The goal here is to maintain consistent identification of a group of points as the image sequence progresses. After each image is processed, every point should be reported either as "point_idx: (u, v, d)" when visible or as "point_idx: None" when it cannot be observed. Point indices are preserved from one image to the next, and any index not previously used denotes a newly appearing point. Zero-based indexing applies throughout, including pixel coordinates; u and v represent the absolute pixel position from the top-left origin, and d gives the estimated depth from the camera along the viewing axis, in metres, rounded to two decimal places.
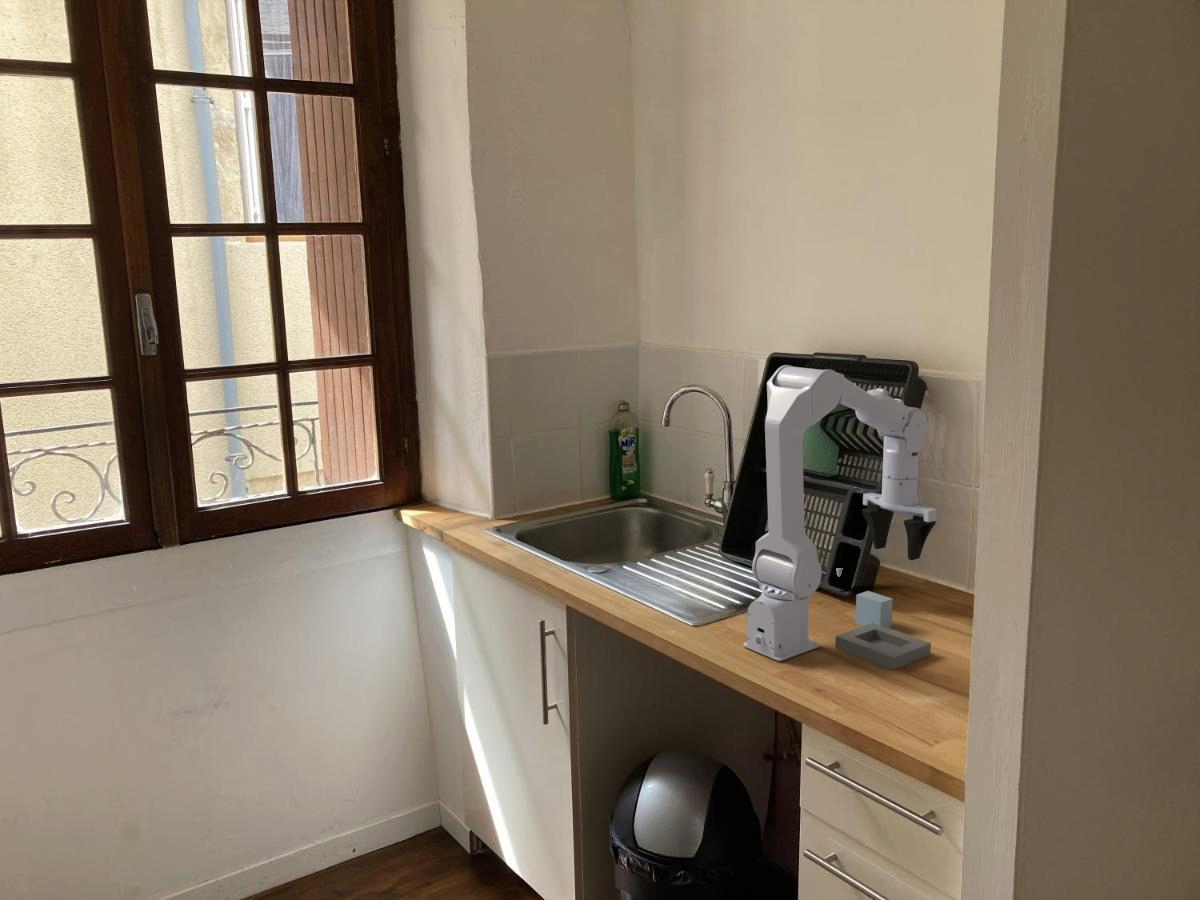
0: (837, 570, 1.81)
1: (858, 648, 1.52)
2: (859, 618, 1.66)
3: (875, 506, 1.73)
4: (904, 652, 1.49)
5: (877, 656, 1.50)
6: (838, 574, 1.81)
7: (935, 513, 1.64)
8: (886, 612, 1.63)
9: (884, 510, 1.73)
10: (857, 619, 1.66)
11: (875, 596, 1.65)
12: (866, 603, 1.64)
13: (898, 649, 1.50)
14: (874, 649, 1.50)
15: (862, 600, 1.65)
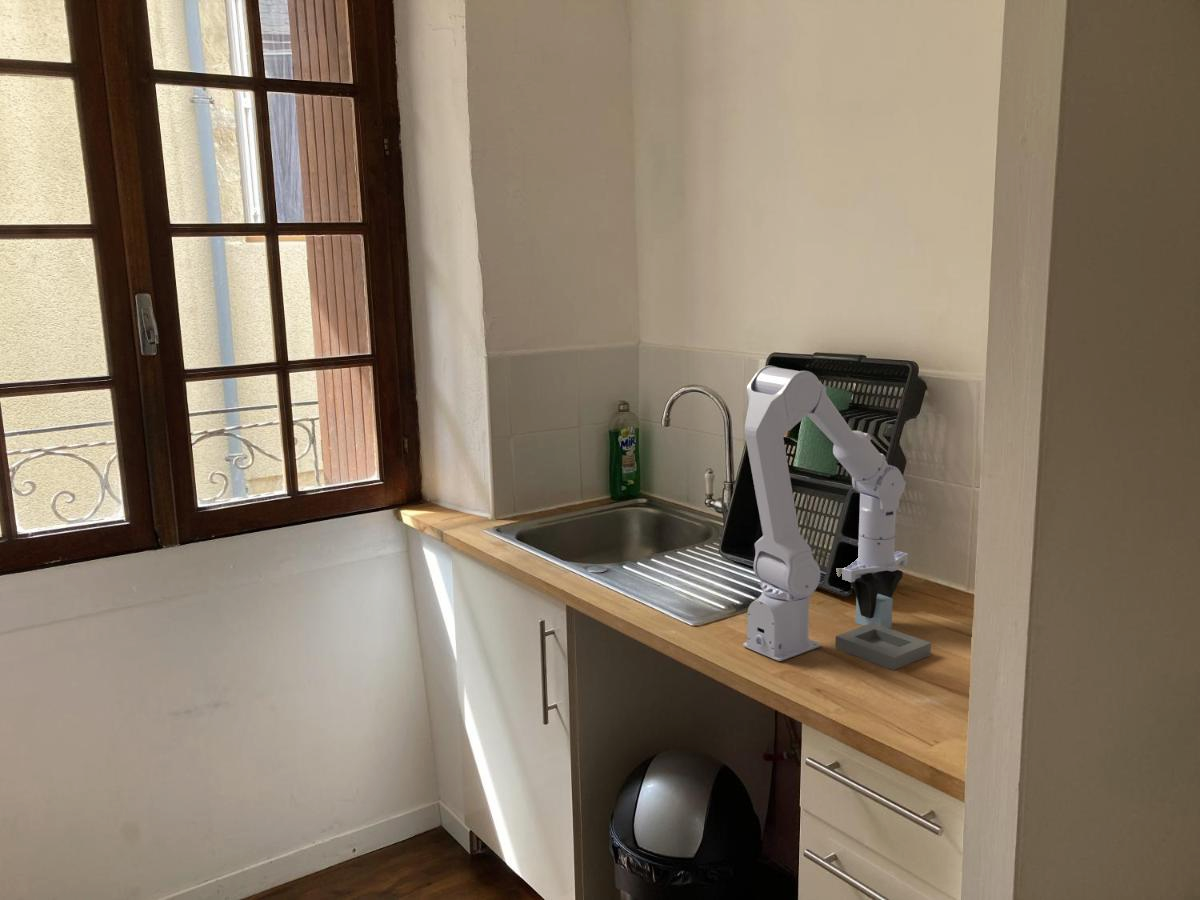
0: (837, 570, 1.81)
1: (858, 648, 1.52)
2: (859, 618, 1.66)
3: None
4: (904, 652, 1.49)
5: (877, 656, 1.50)
6: (838, 574, 1.81)
7: (849, 574, 1.59)
8: (886, 612, 1.63)
9: (885, 574, 1.64)
10: (857, 618, 1.66)
11: None
12: None
13: (898, 649, 1.50)
14: (874, 649, 1.50)
15: None
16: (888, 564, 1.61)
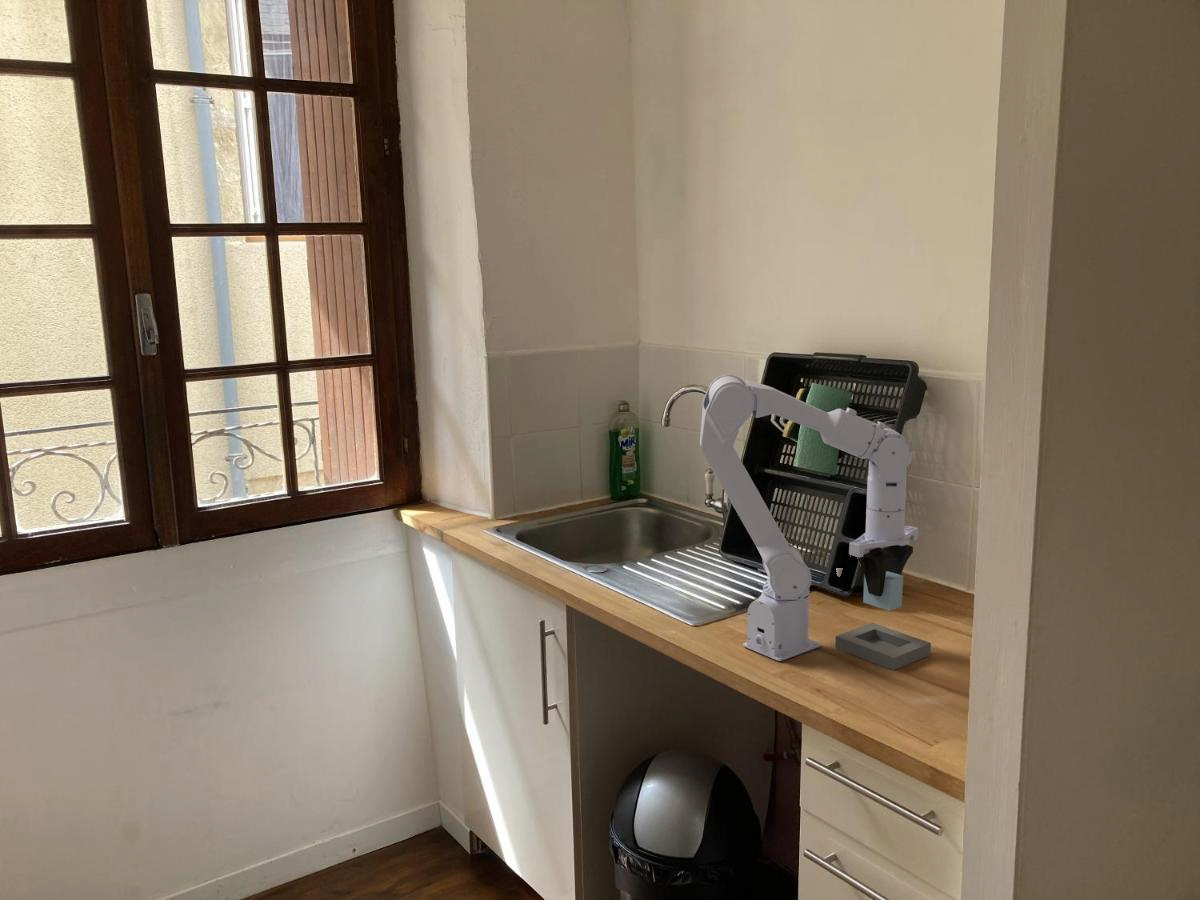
0: (837, 570, 1.81)
1: (858, 648, 1.52)
2: (867, 597, 1.55)
3: None
4: (904, 652, 1.49)
5: (877, 656, 1.50)
6: (838, 574, 1.81)
7: (857, 549, 1.48)
8: (896, 590, 1.53)
9: (894, 549, 1.54)
10: (865, 597, 1.56)
11: None
12: None
13: (898, 649, 1.50)
14: (874, 649, 1.50)
15: None
16: (897, 539, 1.51)
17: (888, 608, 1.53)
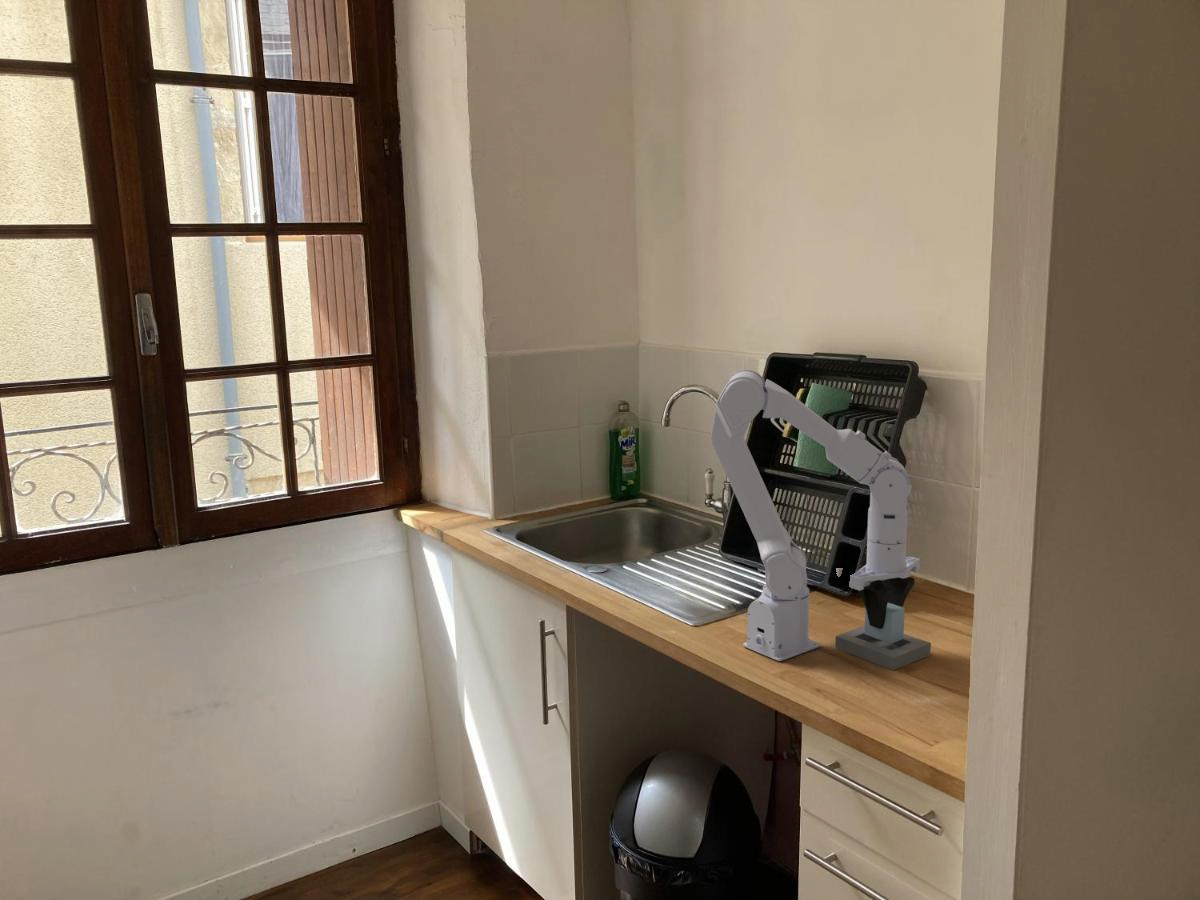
0: (837, 570, 1.81)
1: (858, 648, 1.52)
2: (868, 629, 1.54)
3: None
4: (904, 652, 1.49)
5: (877, 656, 1.50)
6: (838, 574, 1.81)
7: (858, 582, 1.47)
8: (898, 622, 1.51)
9: (895, 581, 1.53)
10: (866, 629, 1.54)
11: None
12: None
13: (898, 649, 1.50)
14: (874, 649, 1.50)
15: None
16: (898, 571, 1.49)
17: (889, 641, 1.51)
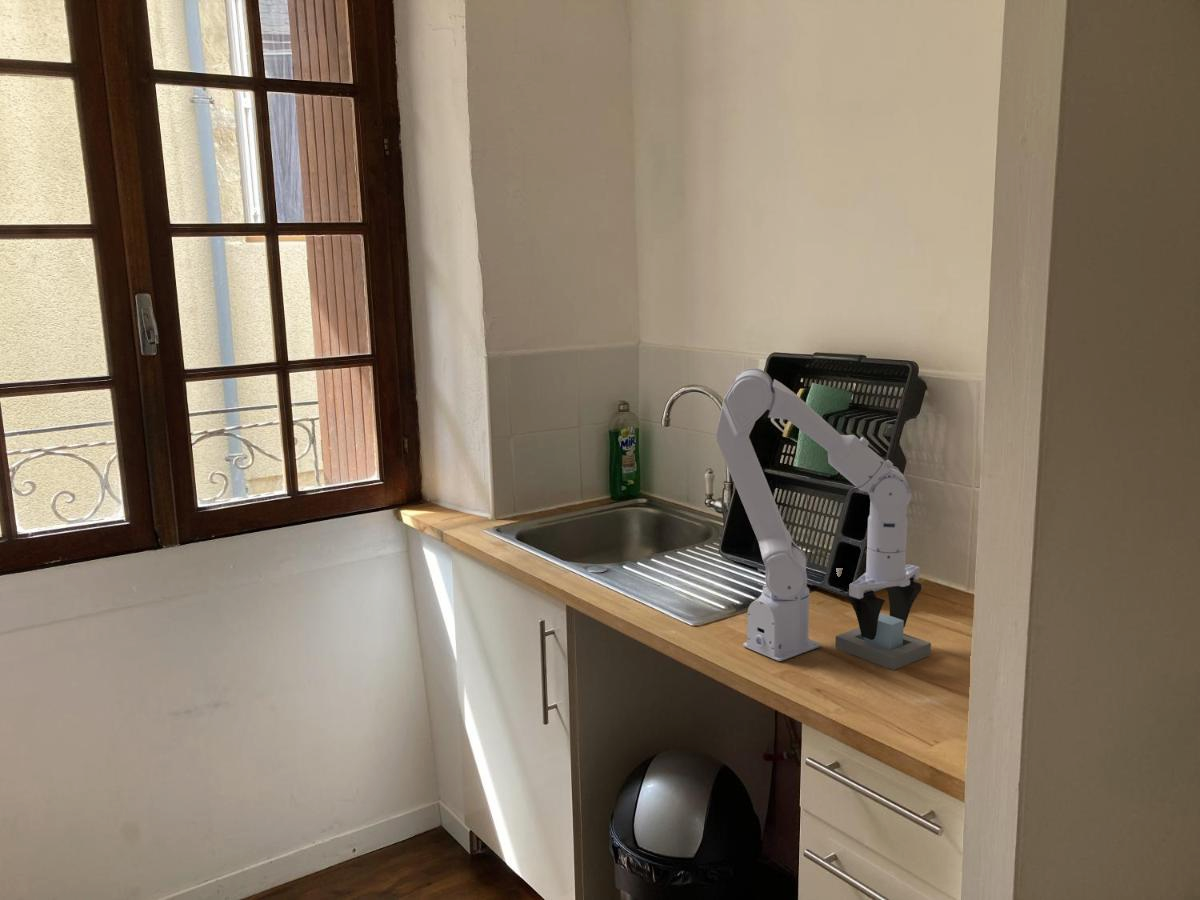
0: (837, 570, 1.81)
1: (858, 648, 1.52)
2: (868, 641, 1.54)
3: None
4: (904, 652, 1.49)
5: (877, 656, 1.50)
6: (838, 574, 1.81)
7: (857, 590, 1.47)
8: (897, 635, 1.52)
9: (902, 586, 1.54)
10: None
11: (885, 617, 1.54)
12: None
13: (898, 649, 1.50)
14: (874, 649, 1.50)
15: None
16: (898, 579, 1.49)
17: None
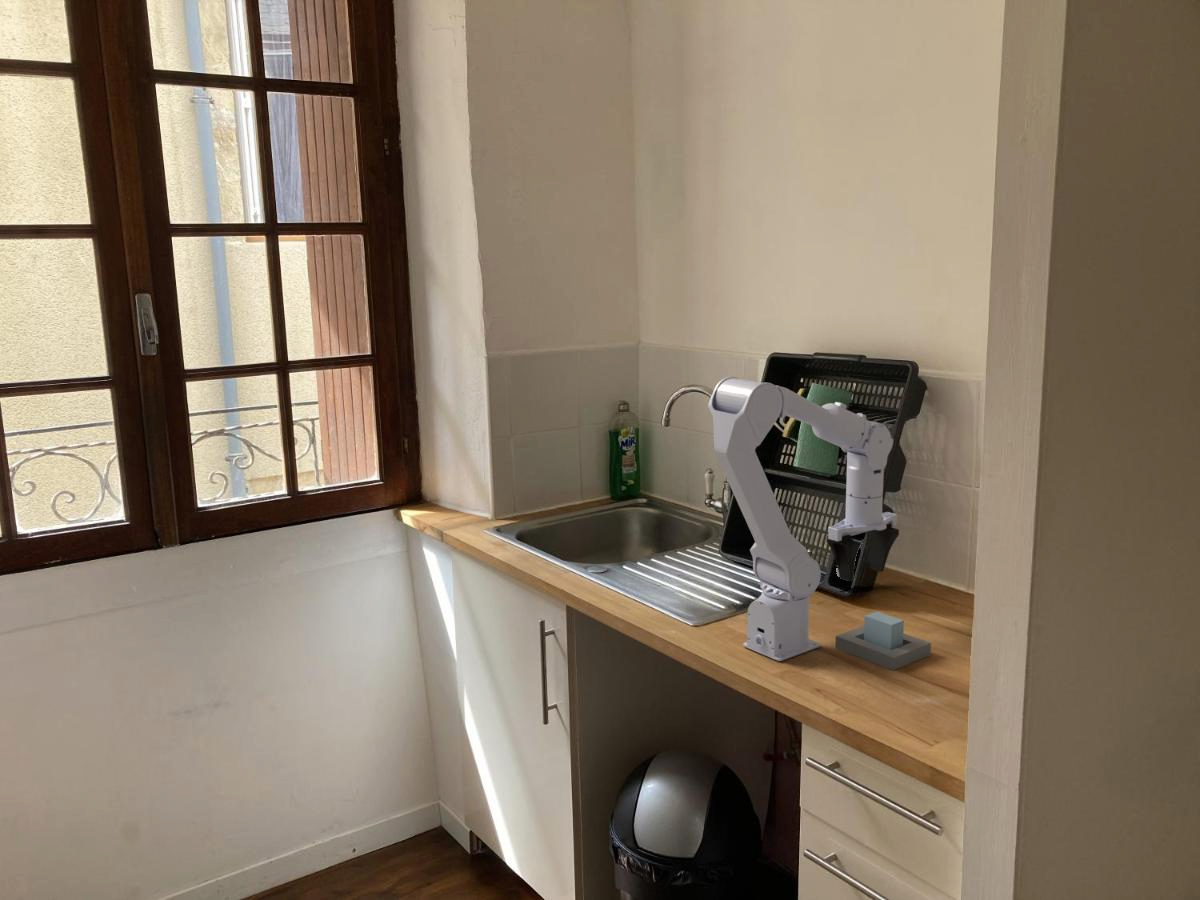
0: (837, 570, 1.81)
1: (858, 648, 1.52)
2: (868, 641, 1.54)
3: None
4: (904, 652, 1.49)
5: (877, 656, 1.50)
6: (838, 574, 1.81)
7: (836, 533, 1.57)
8: (897, 635, 1.52)
9: (881, 532, 1.63)
10: None
11: (885, 617, 1.54)
12: (875, 625, 1.53)
13: (898, 649, 1.50)
14: (874, 649, 1.50)
15: (871, 622, 1.53)
16: (875, 524, 1.59)
17: None
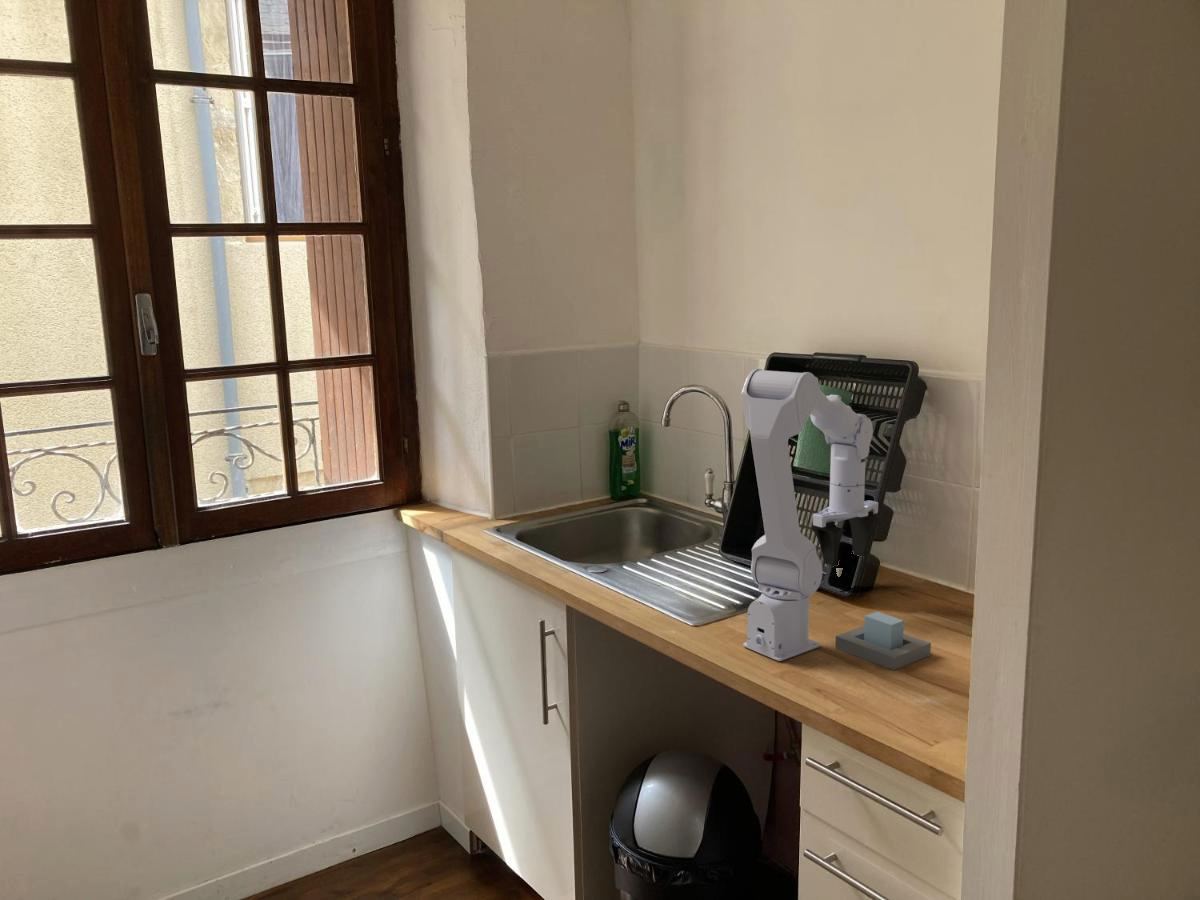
0: (837, 570, 1.81)
1: (858, 648, 1.52)
2: (868, 641, 1.54)
3: None
4: (904, 652, 1.49)
5: (877, 656, 1.50)
6: (838, 574, 1.81)
7: (820, 520, 1.65)
8: (897, 635, 1.52)
9: (863, 519, 1.71)
10: None
11: (885, 617, 1.54)
12: (875, 625, 1.53)
13: (898, 649, 1.50)
14: (874, 649, 1.50)
15: (871, 622, 1.53)
16: (857, 511, 1.67)
17: None
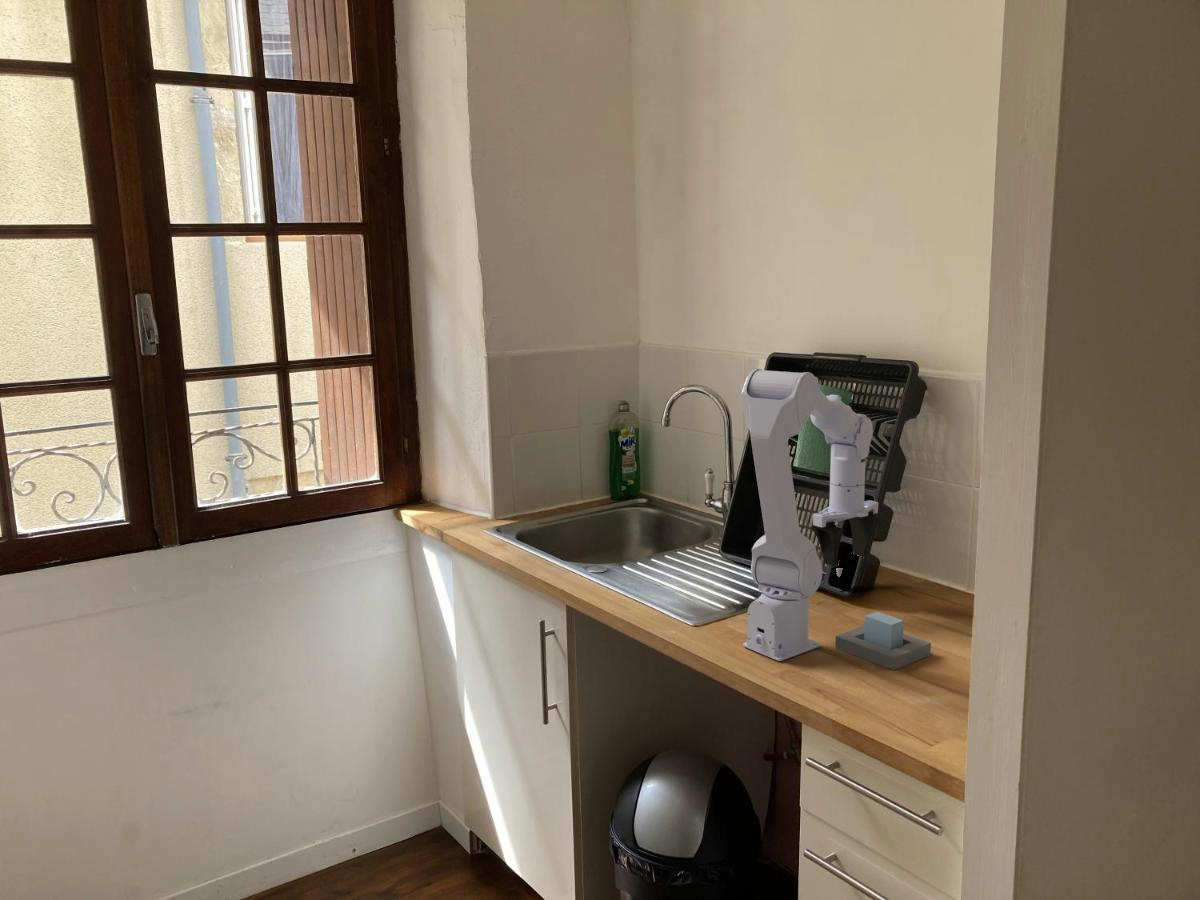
0: (837, 570, 1.81)
1: (858, 648, 1.52)
2: (868, 641, 1.54)
3: None
4: (904, 652, 1.49)
5: (877, 656, 1.50)
6: (838, 574, 1.81)
7: (820, 520, 1.65)
8: (897, 635, 1.52)
9: (863, 519, 1.71)
10: None
11: (885, 617, 1.54)
12: (875, 625, 1.53)
13: (898, 649, 1.50)
14: (874, 649, 1.50)
15: (871, 622, 1.53)
16: (857, 511, 1.67)
17: None
